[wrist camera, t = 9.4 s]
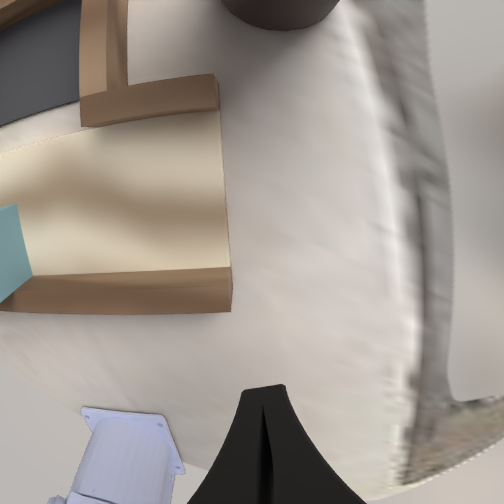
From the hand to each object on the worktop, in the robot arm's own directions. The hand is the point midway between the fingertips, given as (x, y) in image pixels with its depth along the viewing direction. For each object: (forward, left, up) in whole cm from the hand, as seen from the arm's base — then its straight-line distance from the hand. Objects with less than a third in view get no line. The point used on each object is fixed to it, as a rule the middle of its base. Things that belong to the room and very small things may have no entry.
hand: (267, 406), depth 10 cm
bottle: (+18, -2, -10) cm, 20 cm away
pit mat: (+16, +13, -10) cm, 22 cm away
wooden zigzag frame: (+10, +13, -10) cm, 19 cm away
